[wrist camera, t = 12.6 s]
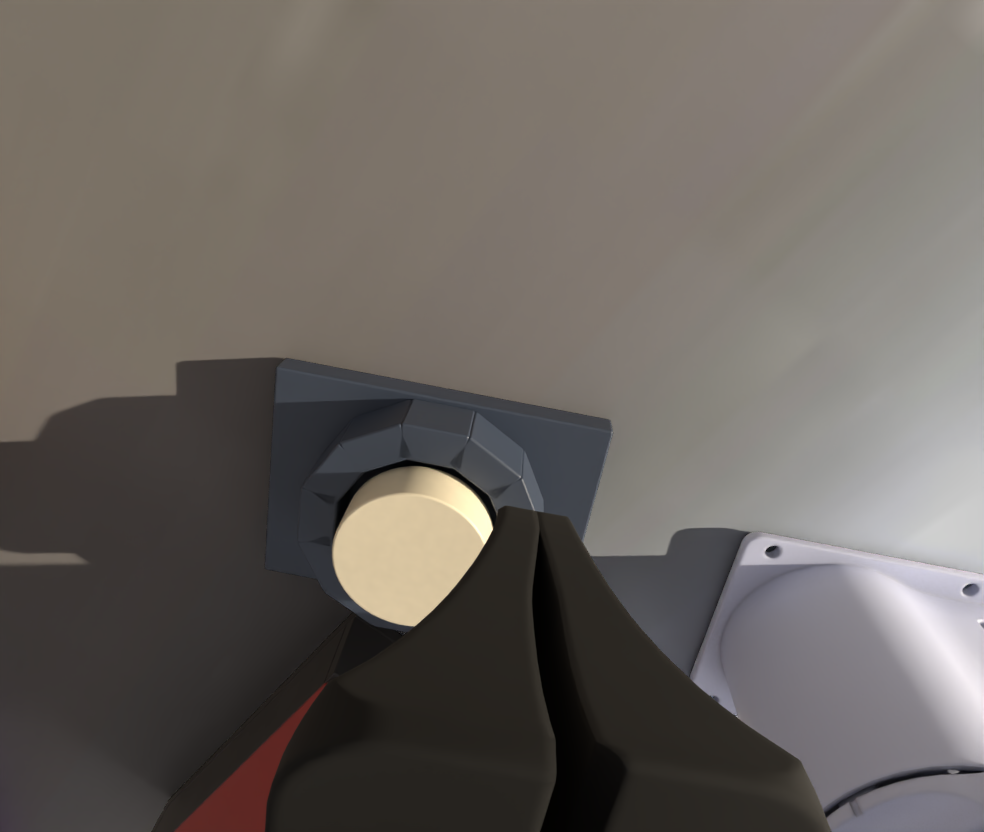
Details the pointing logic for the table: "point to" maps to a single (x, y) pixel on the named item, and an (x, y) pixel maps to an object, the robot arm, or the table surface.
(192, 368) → the table surface
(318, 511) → the switch block
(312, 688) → the black shallow box
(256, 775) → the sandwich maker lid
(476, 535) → the power button
